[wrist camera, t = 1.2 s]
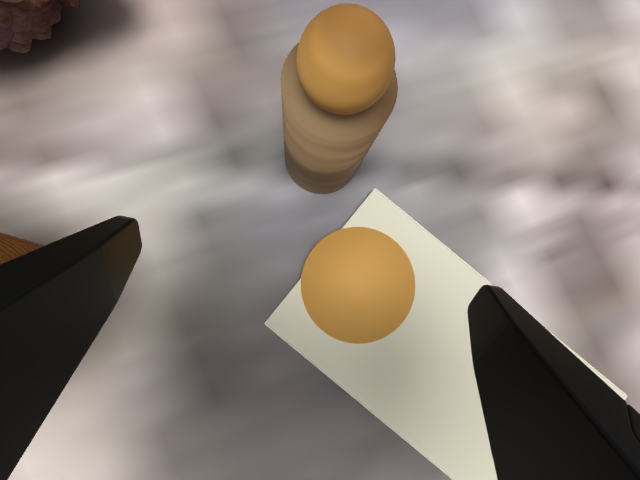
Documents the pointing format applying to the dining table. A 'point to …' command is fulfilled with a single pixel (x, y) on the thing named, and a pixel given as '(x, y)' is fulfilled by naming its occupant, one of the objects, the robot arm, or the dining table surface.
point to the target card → (396, 332)
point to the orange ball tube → (336, 95)
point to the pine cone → (28, 21)
